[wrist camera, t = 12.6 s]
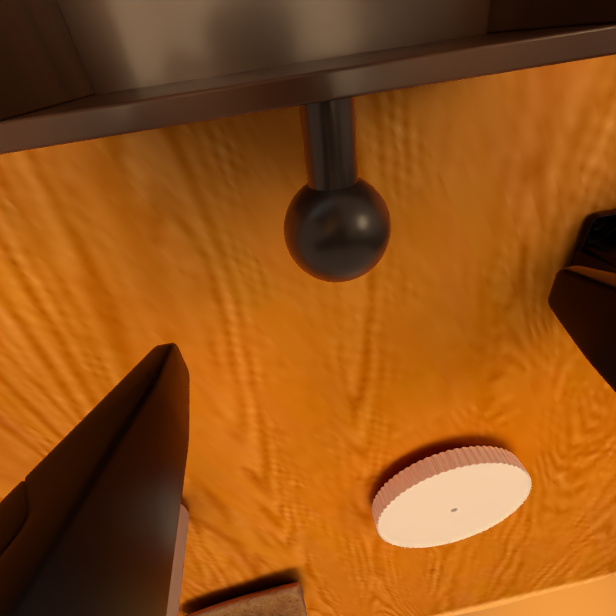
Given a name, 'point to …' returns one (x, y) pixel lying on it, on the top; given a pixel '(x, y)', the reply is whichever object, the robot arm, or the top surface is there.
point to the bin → (271, 80)
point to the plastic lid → (450, 496)
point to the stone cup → (261, 603)
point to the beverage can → (178, 563)
